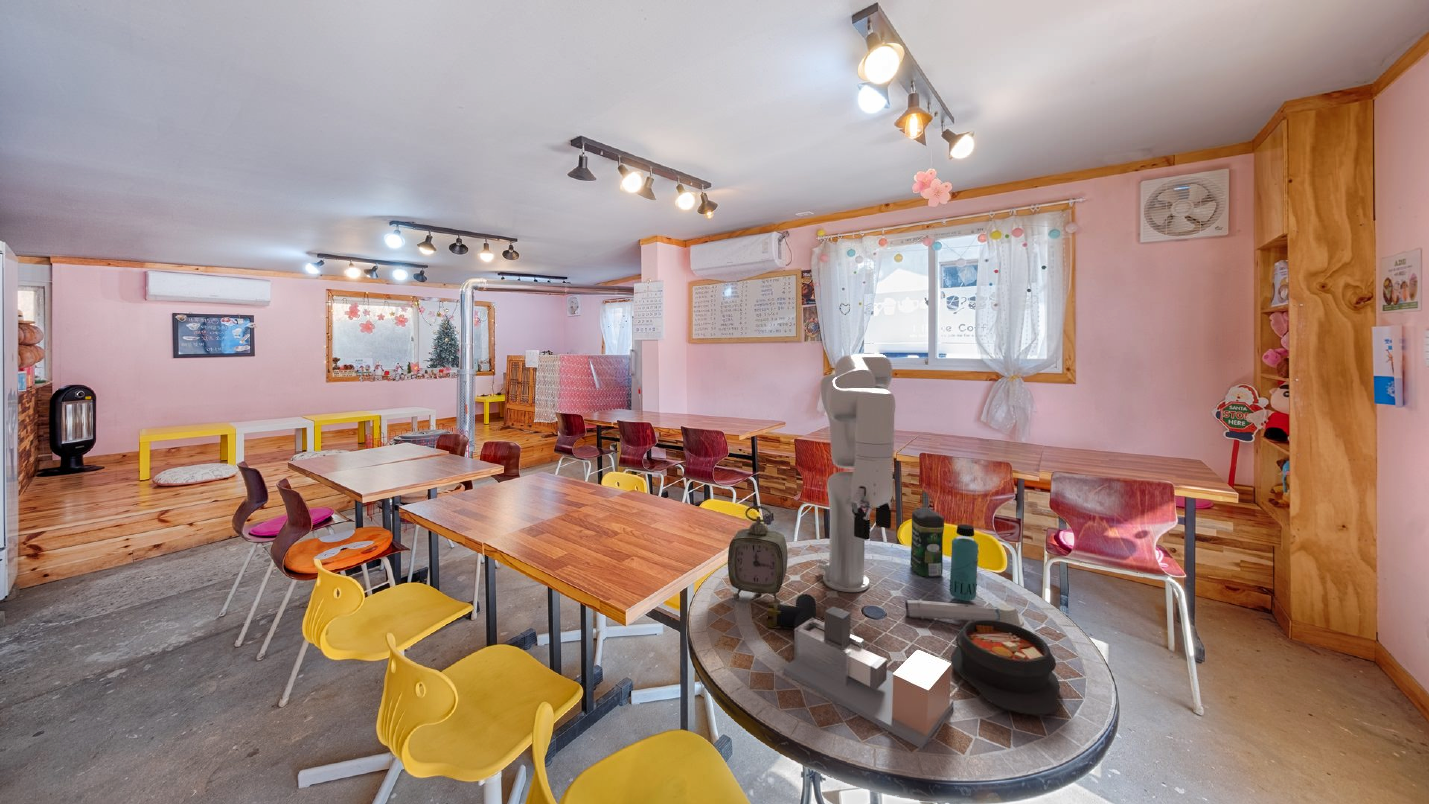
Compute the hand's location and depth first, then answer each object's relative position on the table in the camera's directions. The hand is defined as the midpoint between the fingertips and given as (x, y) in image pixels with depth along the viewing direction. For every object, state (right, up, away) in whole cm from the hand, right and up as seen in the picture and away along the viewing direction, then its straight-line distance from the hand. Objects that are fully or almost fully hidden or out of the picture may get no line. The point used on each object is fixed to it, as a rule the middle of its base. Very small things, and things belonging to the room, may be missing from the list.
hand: (872, 532), depth 105 cm
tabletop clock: (-21, -25, +29) cm, 44 cm away
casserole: (+24, -28, -5) cm, 37 cm away
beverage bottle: (+32, -25, +27) cm, 48 cm away
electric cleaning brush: (+26, -26, +15) cm, 40 cm away
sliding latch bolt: (-7, -25, -5) cm, 27 cm away
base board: (-4, -28, -8) cm, 29 cm away
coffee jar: (+30, -23, +44) cm, 58 cm away
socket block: (+3, -28, -16) cm, 32 cm away
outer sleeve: (-10, -26, -2) cm, 28 cm away
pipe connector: (-15, -27, +15) cm, 34 cm away
